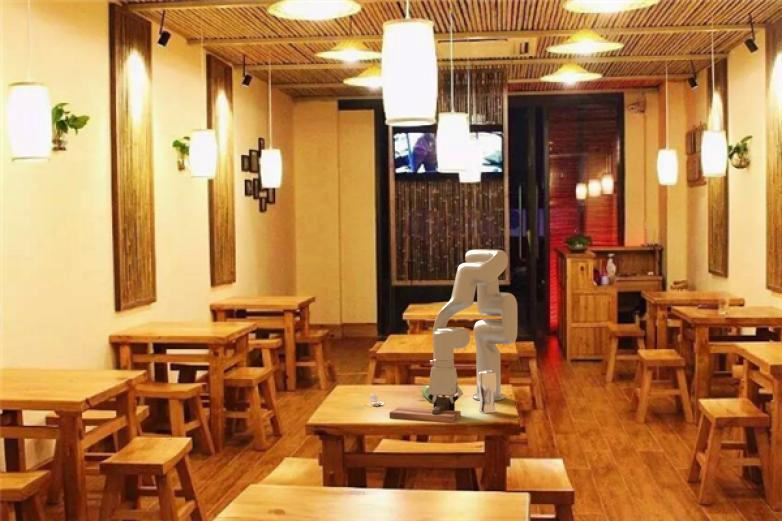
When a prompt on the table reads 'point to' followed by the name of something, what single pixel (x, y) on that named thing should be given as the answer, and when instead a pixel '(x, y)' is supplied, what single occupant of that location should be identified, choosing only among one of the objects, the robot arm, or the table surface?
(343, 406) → the table surface
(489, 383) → the beer glass
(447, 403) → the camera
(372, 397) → the teacup and saucer
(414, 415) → the board
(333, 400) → the table surface
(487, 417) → the table surface
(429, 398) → the edible corn
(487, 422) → the table surface
